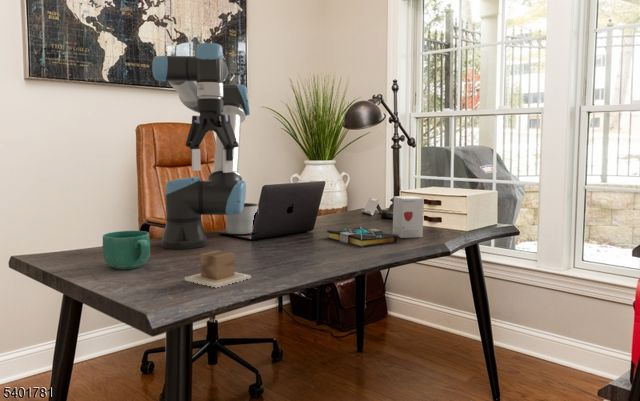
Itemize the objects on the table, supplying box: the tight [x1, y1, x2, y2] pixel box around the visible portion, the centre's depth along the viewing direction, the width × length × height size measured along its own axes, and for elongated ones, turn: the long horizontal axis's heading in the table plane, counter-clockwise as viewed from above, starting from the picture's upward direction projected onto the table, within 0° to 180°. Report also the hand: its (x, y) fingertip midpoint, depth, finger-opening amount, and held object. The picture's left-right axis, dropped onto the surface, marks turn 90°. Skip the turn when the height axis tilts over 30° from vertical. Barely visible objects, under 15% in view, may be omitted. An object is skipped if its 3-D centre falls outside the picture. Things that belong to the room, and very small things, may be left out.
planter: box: [225, 202, 259, 235], centre depth 209 cm, size 13×12×11 cm
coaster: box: [184, 271, 252, 289], centre depth 139 cm, size 12×12×1 cm
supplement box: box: [392, 195, 425, 239], centre depth 204 cm, size 9×9×15 cm
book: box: [326, 225, 399, 248], centre depth 195 cm, size 22×17×5 cm
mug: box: [102, 230, 151, 270], centre depth 151 cm, size 17×13×10 cm
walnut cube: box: [200, 249, 235, 280], centre depth 138 cm, size 6×6×6 cm
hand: (211, 171), depth 158 cm, fingers open, 13 cm apart
